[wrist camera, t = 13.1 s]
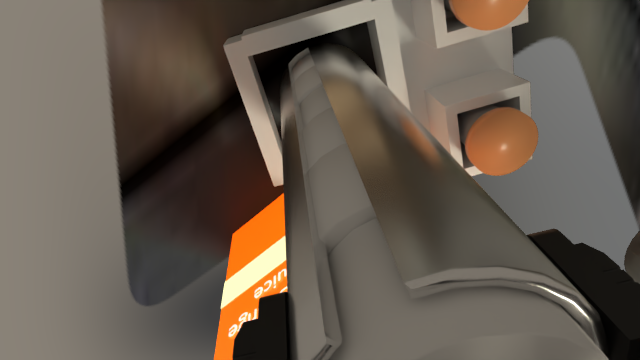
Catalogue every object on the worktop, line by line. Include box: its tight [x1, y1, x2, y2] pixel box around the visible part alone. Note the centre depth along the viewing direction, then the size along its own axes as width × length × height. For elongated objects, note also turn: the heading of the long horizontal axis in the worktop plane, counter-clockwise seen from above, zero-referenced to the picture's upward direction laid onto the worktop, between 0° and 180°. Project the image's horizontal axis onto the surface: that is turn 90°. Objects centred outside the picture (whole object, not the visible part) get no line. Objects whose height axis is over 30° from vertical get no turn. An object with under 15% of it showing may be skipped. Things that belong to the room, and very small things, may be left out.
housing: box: [223, 0, 533, 187], centre depth 28 cm, size 15×18×5 cm
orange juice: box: [214, 193, 287, 360], centre depth 27 cm, size 8×9×20 cm
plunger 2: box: [457, 104, 538, 176], centre depth 28 cm, size 4×4×5 cm
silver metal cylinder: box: [280, 43, 609, 360], centre depth 19 cm, size 6×6×25 cm
